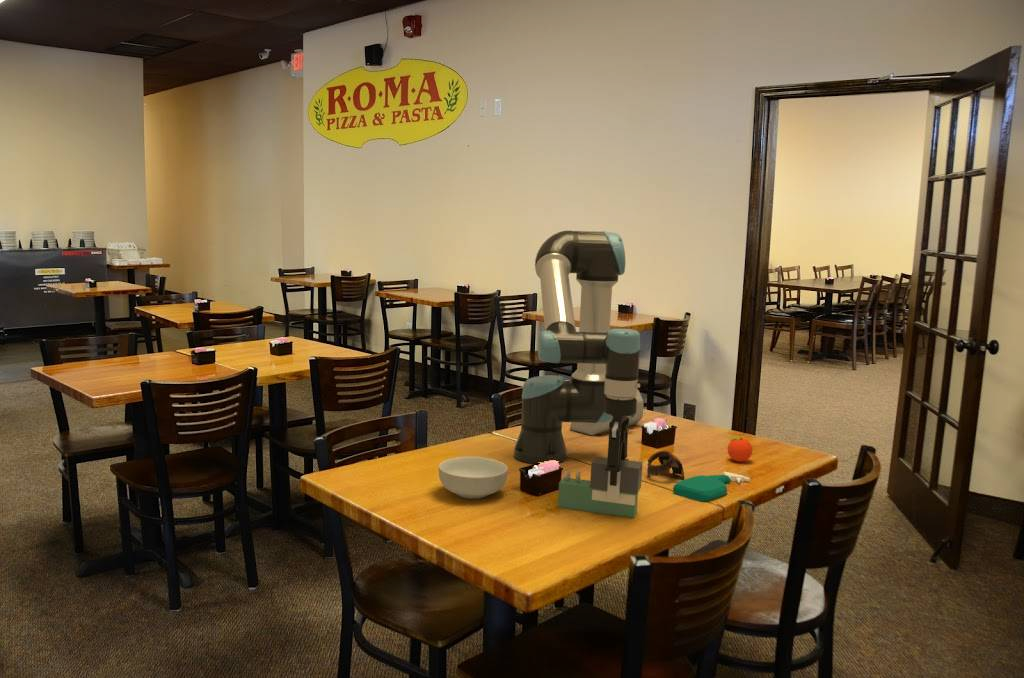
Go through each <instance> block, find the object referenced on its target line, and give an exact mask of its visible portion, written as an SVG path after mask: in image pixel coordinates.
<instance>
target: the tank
mask: <svg viewBox="0 0 1024 678" xmlns="http://www.w3.org/2000/svg"><path fill="white" fill-rule="evenodd" d="M635 398H636V399H637V409H636V414H635V415H632V416H627V417H629V426H630V427H633V426H632V425H634V426H636V425H638V424H639V422H640V421H641V420H642V419H643V417H644V403H645V402H644V399H643V397H642V395H641V392H640V390H639V389H637V396H635ZM612 418H613V417H612ZM611 421H612V419H611V420H610V421H609V422H606V423H596V424H594V423H579V422H570V426H569V430H570V431H573V432H576V431H577V433H580V432H581V434H584V435H587V434H588V435H589V436H591V435H594V436H598V435H601V433H602V434H606V433H609V432H608V430H609V423H610V422H611ZM605 432H606V433H605ZM597 434H598V435H597ZM588 435H587V436H588Z"/></svg>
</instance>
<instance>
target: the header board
mask: <svg viewBox="0 0 1024 678" xmlns="http://www.w3.org/2000/svg"><path fill="white" fill-rule="evenodd" d="M557 499H558V500H557V501H558V503H557V508H560V509H561V508H562V509H569V510H576V511H583V512H590V513H595V514H596V513H597V514H604V515H609V516H610V515H611V516H617V517H626V518H633V519H634V518H635V516H636V515H637V512H638V503H639V502H638V501H639V500H638V499H639V493H638V494H633V493H626V492H620V494H619V499H612V498H607V490H603V489H595V488H590V480H589V479H582V478H581V471H579V470H577V471H576V472H575V478H572V477H571V470H570V469H565V476H564V477H562V479H561V480H560V481H559V482H558V498H557Z"/></svg>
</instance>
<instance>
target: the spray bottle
mask: <svg viewBox="0 0 1024 678" xmlns="http://www.w3.org/2000/svg"><path fill="white" fill-rule="evenodd" d="M750 481H751V478H750V477H747V476H745V475H741V474H739V473H738V474H737V473H733V472H728V471H723V474H714V475H712V474H711V475H695V476H691V477H688V478H685V479H684V480H683V479H682V480H680V481H678V482H676V483H675V484H674V485H673V488H672V491H673V493H674V495H677V496H681V497H683V496H684V497H683V498H686V497H687V499H690V500H693V499H694V500H693V501H697V500H698V501H697V502H701V501H705V502H709V500H710V501H713V500H716V499H719V498H721V497H723V496H725V495H726V494H727V493H728V487H727V484H730V483H731V482H737V483H738V484H740V483H741V482H742V483H743V482H748V483H749V482H750Z"/></svg>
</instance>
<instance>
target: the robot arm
mask: <svg viewBox="0 0 1024 678" xmlns="http://www.w3.org/2000/svg"><path fill="white" fill-rule="evenodd" d="M534 270H535V272H536V273H535V274H536V275H537V277H538V278H539V279H540V280H539V281H540V289H541V291H540V292H541V299H542V300H541V301H542V302H541V303H542V314H543V325H544V330H542V331H540V332H539V334H538V338H537V356H538V359H539V361H541V362H543V363H551V364H552V363H553V364H577V366H576V368H577V369H576V370H575V371H574V372H573V373H571V379H570V381H567V380H565V379H564V376H562V375H559V374H558V375H554V374H548V375H540V376H533V377H531V378H528V379H526V380H525V381H524V383H523V385H522V386H523V387H522V393H521V403H522V404H521V418H520V419H521V421H520V422H521V423H520V432H519V434H518V436H517V437H518V438H517V441H516V443H515V446H514V449H513V457H514V458H515V460H517V459H518V461H519V462H522V461H523V462H522V463H526V462H528V463H527V464H532V463H538V462H544V461H549V460H556V461H559V462H560V463H562V462H565V461H566V460H567V457H568V456H567V453H568V450H567V447H566V443H565V440H564V439H565V438H564V435H563V432H562V431H563V429H562V428H563V423H572V422H579V423H594V424H596V423H606V422H609V421H610V420H611V419H612V421H611V422H610V423H609V430H608V432H607V433H608V442H607V443H608V444H607V445H608V446H607V458H608V460H607V468H605V471H608V488H607V498H612V499H619V494H620V474H621V471H620V460H621V459H622V460H630V459H629V458H628V441H629V440H628V439H629V438H628V437H629V427H628V426H629V417H627V416H632V415H635V414H636V409H637V399H636V398H635V396H637V390H638V388H641V384H640V383H638V381H639V368H640V351H641V347H642V346H641V333H640V332H639V331H638V330H635V329H630V328H612V329H610V328H611V314H612V312H611V311H612V297H613V295H612V294H613V288H614V286H615V285H616V284H617V283H618V281H619V276H623V275H624V274H625V270H626V250H625V245H624V242H623V239H622V237H621V236H620V234H618V233H617V232H610V231H609V232H608V231H605V230H604V231H588V230H587V231H584V230H562V231H559V232H556V233H555V234H554V233H553V234H552V235H551V236H550V237H548V238H547V239H546V240H545V241H544V242H543V243H542V244H541V246H540V247H539V249H538V251H537V253H536V256H535V259H534ZM570 274H576V276H575V277H576V278H575V279H576V281H577V283H579V285H580V286H581V287H580V305H579V306H580V307H579V309H580V312H579V328H578V331H577V329H576V322H575V315H574V307H573V299H572V292H571V291H572V290H571V284H570V277H569V275H570ZM612 417H613V418H612Z"/></svg>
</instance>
